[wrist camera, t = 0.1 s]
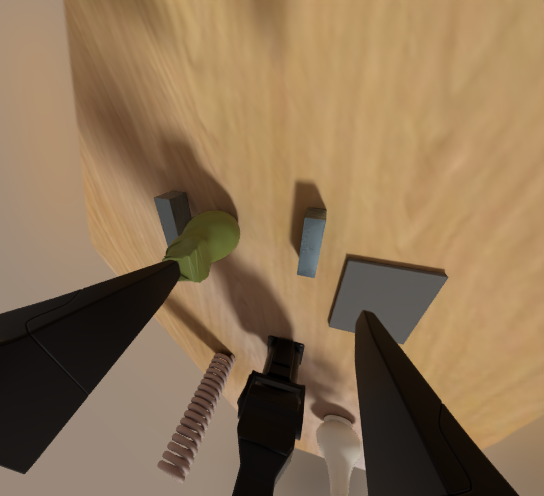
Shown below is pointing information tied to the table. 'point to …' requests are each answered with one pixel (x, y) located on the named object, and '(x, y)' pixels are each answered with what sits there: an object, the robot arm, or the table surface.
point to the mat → (385, 296)
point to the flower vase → (339, 451)
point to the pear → (203, 244)
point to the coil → (197, 418)
